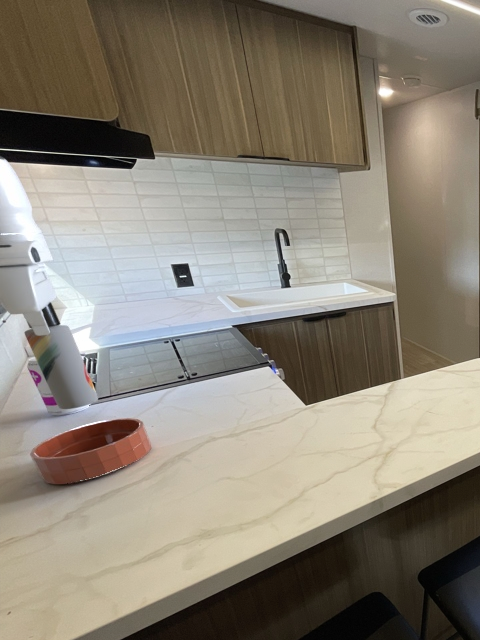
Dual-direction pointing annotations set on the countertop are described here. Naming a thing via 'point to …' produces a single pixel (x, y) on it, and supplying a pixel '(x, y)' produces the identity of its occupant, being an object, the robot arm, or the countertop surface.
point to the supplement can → (47, 390)
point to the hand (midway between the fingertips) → (47, 331)
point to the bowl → (91, 450)
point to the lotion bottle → (62, 363)
